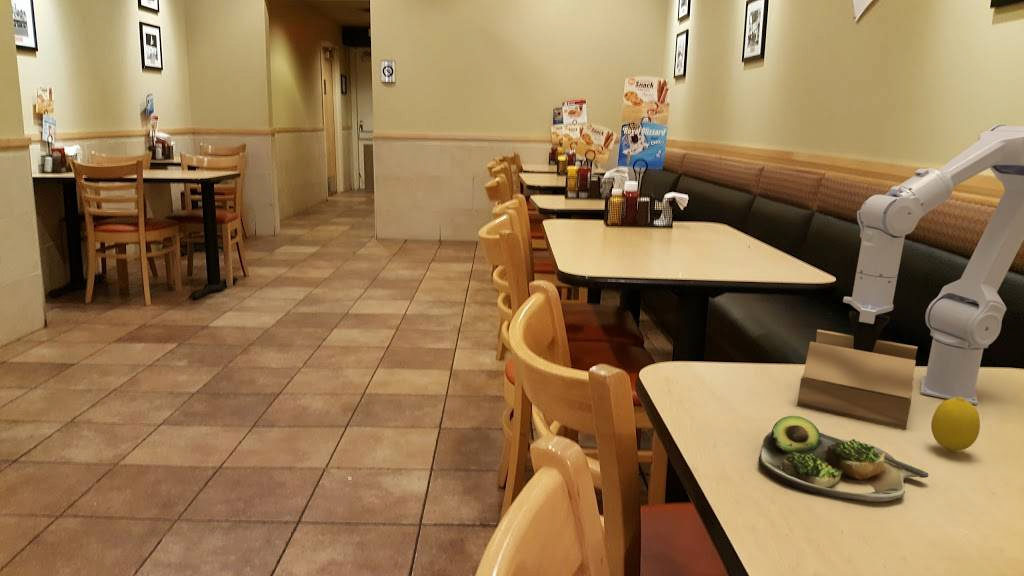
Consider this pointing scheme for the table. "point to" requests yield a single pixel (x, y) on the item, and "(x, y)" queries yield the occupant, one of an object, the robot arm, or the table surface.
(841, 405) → the carton
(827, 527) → the table surface
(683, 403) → the table surface
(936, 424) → the lemon
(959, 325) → the robot arm
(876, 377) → the flap front
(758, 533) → the table surface
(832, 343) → the panel
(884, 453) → the avocado toast plate
